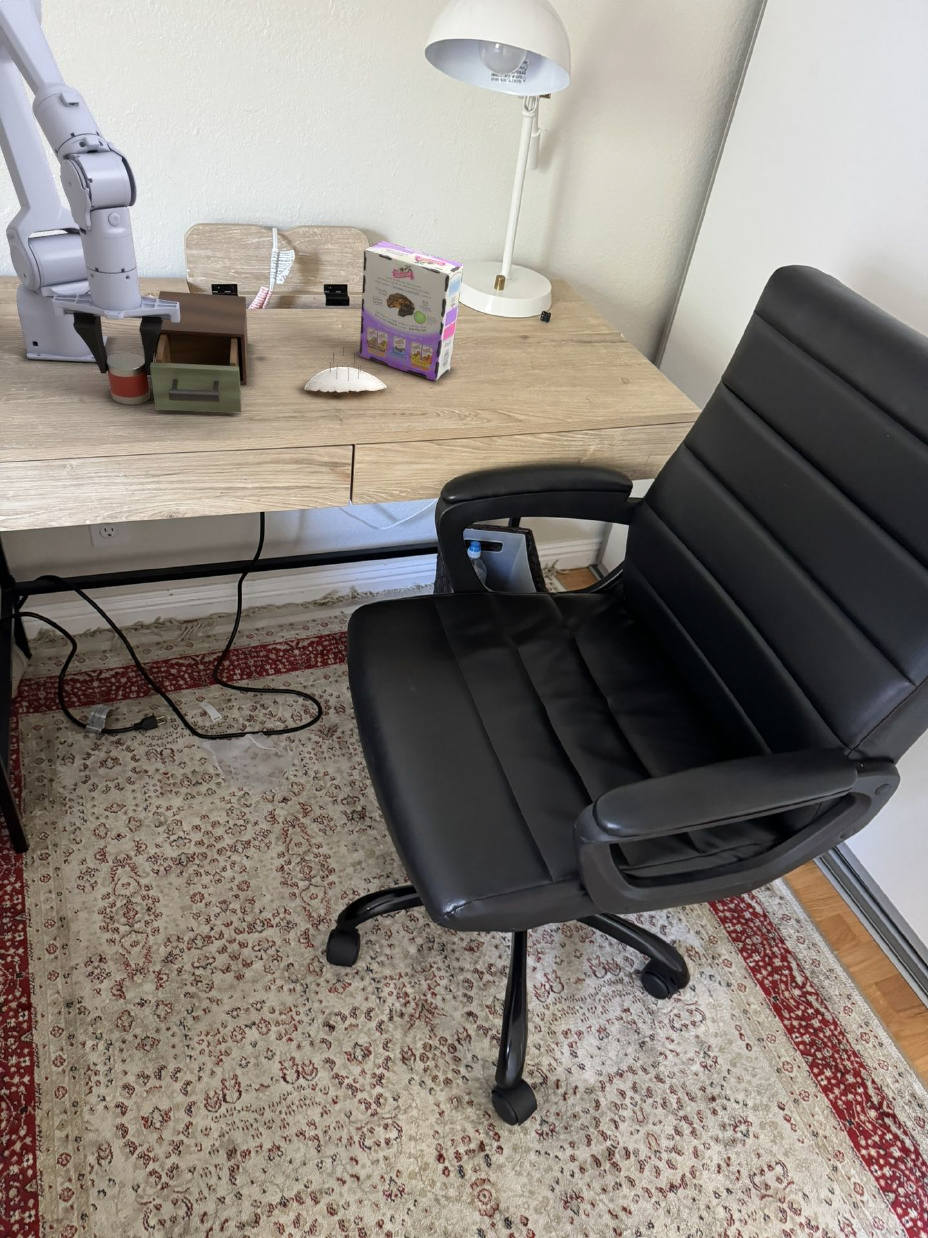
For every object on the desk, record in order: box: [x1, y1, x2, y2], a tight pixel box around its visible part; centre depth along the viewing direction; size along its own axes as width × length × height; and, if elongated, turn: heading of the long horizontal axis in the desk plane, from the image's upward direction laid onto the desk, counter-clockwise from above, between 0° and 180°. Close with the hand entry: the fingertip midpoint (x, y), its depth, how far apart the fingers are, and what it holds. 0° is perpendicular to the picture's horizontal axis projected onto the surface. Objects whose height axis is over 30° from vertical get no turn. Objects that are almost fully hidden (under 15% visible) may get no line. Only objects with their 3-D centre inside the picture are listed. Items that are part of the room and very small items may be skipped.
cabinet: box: [154, 290, 249, 386], centre depth 115 cm, size 13×12×8 cm
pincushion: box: [303, 347, 387, 395], centre depth 115 cm, size 12×6×6 cm, turn 106°
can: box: [106, 352, 151, 405], centre depth 106 cm, size 5×5×5 cm
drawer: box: [150, 333, 242, 413], centre depth 107 cm, size 16×11×6 cm, turn 10°
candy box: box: [358, 240, 465, 382], centre depth 121 cm, size 14×6×16 cm, turn 65°
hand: (127, 371), depth 105 cm, fingers open, 5 cm apart
